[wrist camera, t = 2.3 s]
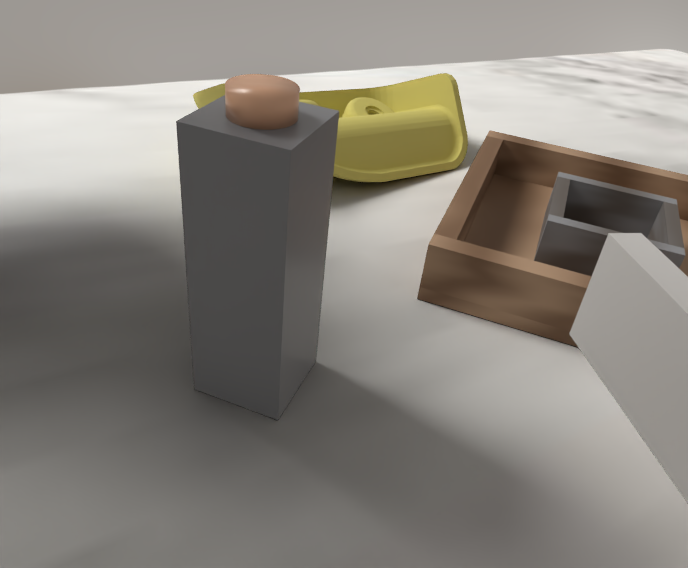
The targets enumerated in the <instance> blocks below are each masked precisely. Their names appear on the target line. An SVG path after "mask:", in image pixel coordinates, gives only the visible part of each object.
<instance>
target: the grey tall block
mask: <svg viewBox="0 0 688 568" xmlns="http://www.w3.org/2000/svg"><path fill="white" fill-rule="evenodd" d="M299 92H300V88H299V86H298V85H297V84H296V83H295V82H293V81H291V80H289V79H286V78H283V77H278V76H273V75H263V74H247V75H240V76H235V77H232V78H230V79H228V80H227V81H226V83H225V95H224V96H222V97H220V98H218V99H216V100H215V101H213V102H211V103H209V104H207V105H205V106H203V107H202V108H200V109H198V110H196V111H194V112H192V113H191V114H189V115H187V116H185V117H183V118H181V119H180V120H178V121H176V123H177V138H178V153H179V169H180V184H181V199H182V214H183V229H184V244H185V259H186V274H187V289H188V304H189V319H190V334H191V349H192V364H193V379H194V389H195V390H198V391H200V392H203V393H206V394H209V395H211V396H214V397H217V398H219V399H222V400H225V401H227V402H230V403H233V404H235V405H238V406H241V407H243V408H246V409H249V410H251V411H254V412H257V413H260V414H262V415H265V416H268V417H270V418H273V419H276V420H278V419H279V418H280V416H281V415H282V413H283V412H284V410H285V408H286V407H287V405H288V404H289V402H290V401H291V399H292V398H293V396H294V394H295V393H296V391H297V390H298V388H299V387H300V385H301V383H302V382H303V380H304V379H305V377H306V376H307V374H308V373H309V371H310V369H311V368H312V366H313V365H314V363H315V362H316V354H317V343H318V333H319V322H320V311H321V301H322V290H323V280H324V269H325V258H326V248H327V237H328V226H329V216H330V205H331V194H332V184H333V173H334V163H335V152H336V141H337V131H338V120H339V111H338V110H334V109H329V108H325V107H321V106H316V105H312V104H308V103H303V102H299Z"/></svg>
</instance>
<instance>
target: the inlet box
mask: <svg viewBox="0 0 688 568" xmlns="http://www.w3.org/2000/svg"><path fill="white" fill-rule="evenodd" d="M608 233H642V234H643V235H644V236H645V237H646V238H647V239H648V240H649V241H650V242H651V243H652V244H653V245H654V246H656V247H657V248H658V249H659V250H660V251H661V252H662V253H663V254H664V255H665V256H666V257H667V258H668V259H669V260H670V261H672V262H673V263H674V264H675V265H676V266H677V267H678V268H679V269H680V270H681V271H682V272H683V273H684V274H685V275H686V276H688V175H684V174H680V173H676V172H671V171H667V170H662V169H658V168H653V167H649V166H645V165H640V164H636V163H631V162H627V161H623V160H618V159H614V158H609V157H605V156H600V155H596V154H592V153H587V152H583V151H578V150H574V149H569V148H565V147H561V146H556V145H552V144H547V143H543V142H538V141H534V140H530V139H525V138H521V137H516V136H512V135H507V134H503V133H499V132H494V131H489V133H488V134H487V136H486V138H485V140H484V142H483V144H482V146H481V148H480V149H479V151H478V153H477V155H476V157H475V159H474V161H473V162H472V164H471V166H470V168H469V170H468V172H467V174H466V176H465V177H464V179H463V181H462V183H461V185H460V187H459V189H458V190H457V192H456V194H455V196H454V198H453V200H452V202H451V203H450V205H449V207H448V209H447V211H446V213H445V215H444V217H443V218H442V220H441V222H440V224H439V226H438V228H437V230H436V231H435V233H434V235H433V237H432V239H431V241H430V243H429V245H428V250H427V255H426V259H425V264H424V269H423V274H422V278H421V283H420V288H419V293H418V298H417V299H420V300H423V301H427V302H430V303H433V304H437V305H440V306H443V307H446V308H450V309H453V310H456V311H460V312H463V313H466V314H470V315H473V316H476V317H480V318H483V319H486V320H490V321H493V322H496V323H500V324H503V325H506V326H509V327H513V328H516V329H519V330H523V331H526V332H529V333H533V334H536V335H539V336H543V337H546V338H549V339H553V340H556V341H559V342H563V343H566V344H569V345H572V346H576V347H578V346H577V344H576V343H575V342H574V340H573V339H572V337H571V336H570V334H569V333H570V331H571V328H572V326H573V323H574V320H575V318H576V315H577V313H578V310H579V308H580V305H581V303H582V300H583V297H584V295H585V292H586V290H587V287H588V285H589V282H590V279H591V277H592V274H593V272H594V269H595V267H596V264H597V261H598V259H599V256H600V254H601V251H602V249H603V246H604V243H605V241H606V238H607V236H608Z"/></svg>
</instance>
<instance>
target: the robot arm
mask: <svg viewBox="0 0 688 568" xmlns="http://www.w3.org/2000/svg"><path fill="white" fill-rule="evenodd" d="M569 334H570V336H571V337H572V339H573V340H574V342H575V343H576V344H577V346H578V347H579V349H580V350H581V352H582V353H583V354H584V356H585V357H586V359H587V360H588V362H589V363H590V364H591V366H592V367H593V369H594V370H595V372H596V373H597V374H598V376H599V377H600V379H601V380H602V382H603V383H604V384H605V386H606V387H607V389H608V390H609V392H610V393H611V394H612V396H613V397H614V399H615V400H616V402H617V403H618V405H619V406H620V407H621V409H622V410H623V412H624V413H625V415H626V416H627V417H628V419H629V420H630V422H631V423H632V425H633V426H634V427H635V429H636V430H637V432H638V433H639V435H640V436H641V437H642V439H643V440H644V442H645V443H646V445H647V446H648V447H649V449H650V450H651V452H652V453H653V455H654V456H655V457H656V459H657V460H658V462H659V463H660V465H661V466H662V467H663V469H664V470H665V472H666V473H667V475H668V476H669V477H670V479H671V480H672V482H673V483H674V485H675V486H676V487H677V489H678V490H679V492H680V493H681V495H682V496H683V497H684V499H685V500H686V502H687V503H688V276H686V275H685V274H684V273H683V272H682V271H681V270H680V269H679V268H678V267H677V266H676V265H675V264H674V263H673V262H672V261H670V260H669V259H668V258H667V257H666V256H665V255H664V254H663V253H662V252H661V251H660V250H659V249H658V248H657V247H656V246H654V245H653V244H652V243H651V242H650V241H649V240H648V239H647V238H646V237H645V236H644V235H643V234H642V233H608V236H607V238H606V241H605V243H604V246H603V249H602V251H601V254H600V256H599V259H598V261H597V264H596V267H595V269H594V272H593V274H592V277H591V279H590V282H589V285H588V287H587V290H586V292H585V295H584V297H583V300H582V303H581V305H580V308H579V310H578V313H577V315H576V318H575V320H574V323H573V326H572V328H571V331H570V333H569Z"/></svg>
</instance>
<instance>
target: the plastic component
mask: <svg viewBox="0 0 688 568" xmlns="http://www.w3.org/2000/svg"><path fill="white" fill-rule="evenodd" d="M224 95H225V84H220V85H217V86H214V87H211V88H208V89H205V90H202V91H199V92H197V93H195V94H194V95H193V97H194V101H195V103H196V105H197V107H198V108H199V109H200V108H202V107H203V106H205V105H207V104H209V103H211V102H213V101H215V100H216V99H218V98H220V97H222V96H224ZM299 102H303V103H308V104H312V105H316V106H321V107H325V108H329V109H334V110H338V111H339V120H338V131H337V141H336V152H335V163H334V173H333V177H337V178H340V179H345V180H350V181H357V182H386V181H391V180H397V179H402V178H408V177H413V176H419V175H424V174H430V173H435V172H441V171H446V170H452V169H455V168H457V167H458V166H459V165H460V164H461V163H462V161H463V160H464V158H465V155H466V152H467V146H468V136H467V131H466V126H465V121H464V116H463V111H462V106H461V101H460V96H459V91H458V86H457V82H456V80H455V79H454V78H453V76H452V75H449V74H447V73H444V74H437V75H433V76H428V77H424V78H420V79H415V80H411V81H407V82H402V83H398V84H394V85H388V86H383V87H376V88H366V89H350V90H334V91H317V92H300V93H299Z"/></svg>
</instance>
